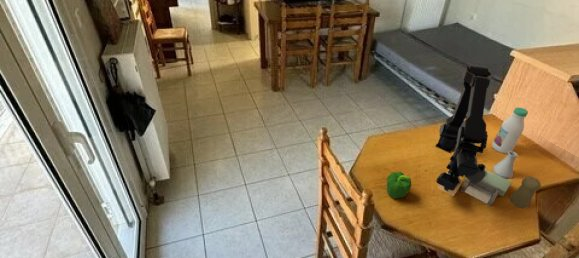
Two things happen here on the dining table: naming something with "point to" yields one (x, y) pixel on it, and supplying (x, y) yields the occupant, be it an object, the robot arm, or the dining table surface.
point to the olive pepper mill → (525, 192)
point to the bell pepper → (398, 184)
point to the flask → (506, 166)
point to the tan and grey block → (450, 190)
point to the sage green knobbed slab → (496, 181)
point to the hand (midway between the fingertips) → (448, 187)
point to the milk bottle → (510, 131)
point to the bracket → (481, 191)
